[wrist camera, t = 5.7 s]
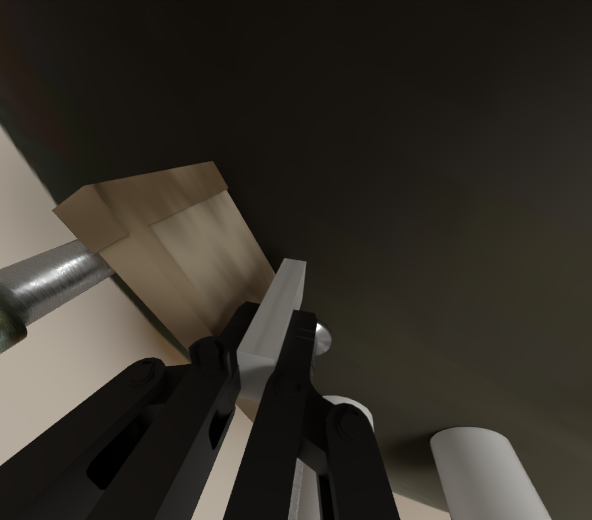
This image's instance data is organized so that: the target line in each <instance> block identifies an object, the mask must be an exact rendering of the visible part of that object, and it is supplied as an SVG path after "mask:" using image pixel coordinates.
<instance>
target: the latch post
mask: <svg viewBox="0 0 592 520" xmlns="http://www.w3.org/2000/svg"><path fill="white" fill-rule="evenodd" d="M114 273H116V272H115V270H114V269H113V268H112V267H111V266H110V265H109V264H108V263H107V262H106V261H105V259H104V258H103V257H102V256H101V255H100V254H99V253H98V252H96V253H94V254H92V253H91V252H90V251H89V250H88V249H87V248H86V247H85V246H84V245H83V243H82V242H81V241H80V240H79V239H77V240H74V241H72V242H69V243H67V244H64V245H62V246H59V247H57V248H54V249H51V250H49V251H46V252H44V253H41V254H38V255H36V256H33V257H31V258H28V259H26V260H23V261H21V262H18V263H15V264H13V265H10V266H8V267H5V268H3V269H0V354H1V353H3V352H4V351H6V350H7V349H9V348H11V347H12V346H14V345H15V344H17V343H18V342H20V341H22V340H23V339H24V338H26V336H27V329H26V326H28V325H30V324H31V323H32V322H35V321H36V320H38V319H40V318H41V317H43V316H44V315H46V314H48V313H50V312H51V311H53V310H55V309H56V308H58V307H60V306H61V305H63V304H64V303H66V302H68V301H69V300H71V299H73V298H74V297H76V296H78V295H79V294H81V293H83V292H84V291H86V290H88V289H89V288H91V287H93V286H94V285H96V284H98V283H99V282H101V281H103V280H104V279H106V278H108V277H109V276H111V275H113V274H114Z"/></svg>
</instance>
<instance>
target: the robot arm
mask: <svg viewBox="0 0 592 520" xmlns="http://www.w3.org/2000/svg"><path fill="white" fill-rule="evenodd" d="M305 268H306V262H305V261H299V260H293V259H286V258H284V260H283V262H282V264H281V266H280V268H279V270H278V272H277V274H276V276H275V278H274V279H273V281H272V283H271V285H270V287H269V289H268V291H267V293H266V295H265V297H264V299H263V301H262V303H261V304H259V303H254V302H249V301H246V302H245V303H243V304H242V305H241V306H239V307H238V308H237V310H236V311H235V313H234V314H233V317H232V318H231V319H230V321H229V322H228V324H227V325H226V327H225V328H224V330H223V332H222V333H221V335H220V336H219V337H218V336H208V337H204V338H201V339H199V340H197V341H195V342H194V343H193V344H192V345H191V346H190V347H189V348H188V349H189V353H190V357H191V361H192V363H191V364H186V365H177V366H165V364H164V363H163V362H162V360H160V359H158V358H154V357H153V358H145V359H142V360H139V361H137V362H135V363H133V364H132V365H130V366H128V367H127V368H126V369H125V370H123V371H122V372H121V373H119V374H118V375H117V376H115V377H114V378H113V379H112V380H110V381H109V382H108V383H106V384H105V385H104V386H103V387H101V388H100V389H99V390H97V391H96V392H95V393H94V394H92V395H91V396H90V397H88V398H87V399H86V400H85V401H83V402H82V403H81V404H79V405H78V406H77V407H76V408H74V409H73V410H72V411H70V412H69V413H68V414H67V415H65V416H64V417H63V418H61V419H60V420H59V421H58V422H56V423H55V424H54V425H52V426H51V427H50V428H49V429H48V430H46V431H45V432H44V433H42V434H41V435H40V436H38V437H37V438H36V439H35V440H33V441H32V442H31V443H29V444H28V445H27V446H25V447H24V448H23V449H22V450H20V451H19V452H18V453H16V454H15V455H14V456H13V457H11V458H10V459H9V460H7V461H6V462H5V463H3V464H2V465H1V466H0V520H191V518H192V516H193V513H194V511H195V509H196V506H197V504H198V501H199V499H200V496H201V494H202V491H203V489H204V486H205V484H206V482H207V479H208V477H209V475H210V472H211V470H212V467H213V465H214V462H215V460H216V457H217V455H218V453H219V450H220V448H221V445H222V443H223V441H224V438H225V436H226V433H227V431H228V429H229V426H230V423H231V421H232V419H233V416H234V413H235V409H236V407H235V402H236V400H237V397H238V395H239V392H240V394H241V398H243V399H247V400H251V401H255V402H259V403H260V404H259V407H258V411H257V414H256V417H255V420H254V423H253V426H252V429H251V433H250V436H249V439H248V442H247V445H246V448H245V452H244V455H243V458H242V461H241V464H240V467H239V470H238V474H237V477H236V480H235V483H234V486H233V489H232V493H231V495H230V499H229V502H228V505H227V508H226V511H225V514H224V517H223V520H288V516H289V509H290V503H291V496H292V489H293V482H294V475H295V469H296V462H297V458H298V459H300V460H301V461H302V462H303V463H305V464H306V465H307V466H308V467H310V468H311V469H312V470H313V471H315V472H316V481H317V491H318V501H319V512H320V520H400V517H399V514H398V510H397V507H396V504H395V501H394V497H393V494H392V490H391V487H390V484H389V481H388V477H387V474H386V471H385V468H384V464H383V461H382V458H381V454H380V451H379V448H378V445H377V441H376V438H375V435H374V431H373V428H372V426H371V423H370V421H369V419H368V417H367V416H366V415H365V414H364V413H363V411H362V410H361V409H359V408H358V407H356V406H354V405H353V404H349V403H340V404H336V405H335V404H333V403H332V402H330V401H328V400H327V399H325V398H324V397H322V396H321V395H320V394H319V393H318V392H317V391H316V390H315V389H314V387H313V385H312V383H311V380H310V368H311V361H312V355H313V348H314V342H315V335H316V329H317V323H318V322H317V319H316V316H315V314H314V313H310V312H305V311H300V310H299V309H300V305H301V302H302V296H303V287H304V278H305Z"/></svg>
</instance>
